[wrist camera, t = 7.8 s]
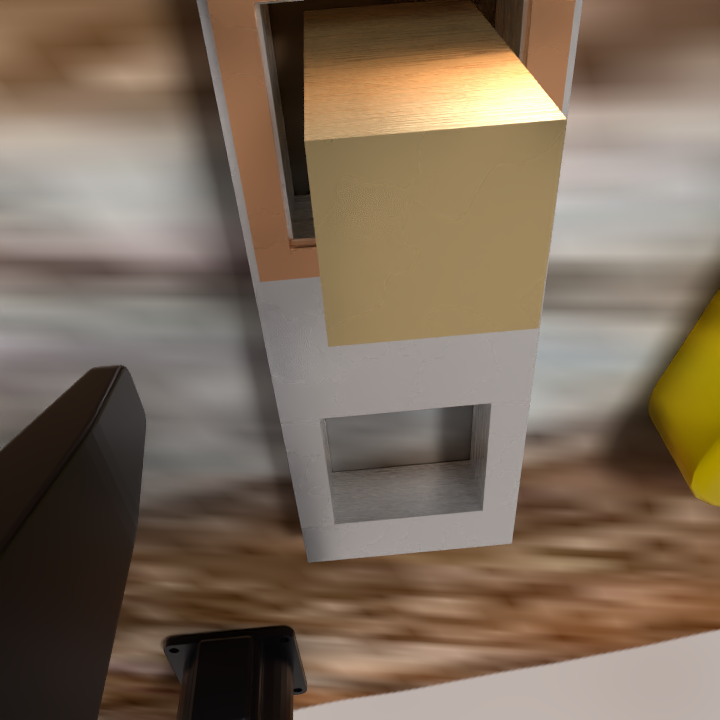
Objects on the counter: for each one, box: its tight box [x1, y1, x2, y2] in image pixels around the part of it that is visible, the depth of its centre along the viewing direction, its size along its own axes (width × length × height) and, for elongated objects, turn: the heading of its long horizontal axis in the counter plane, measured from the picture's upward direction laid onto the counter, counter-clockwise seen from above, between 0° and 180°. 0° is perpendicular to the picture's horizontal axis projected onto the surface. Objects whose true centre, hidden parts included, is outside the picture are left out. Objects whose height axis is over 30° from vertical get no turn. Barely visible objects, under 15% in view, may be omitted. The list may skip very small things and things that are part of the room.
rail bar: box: [197, 0, 583, 562], centre depth 20 cm, size 22×8×3 cm, turn 4°
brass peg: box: [304, 0, 567, 347], centre depth 15 cm, size 4×4×8 cm
